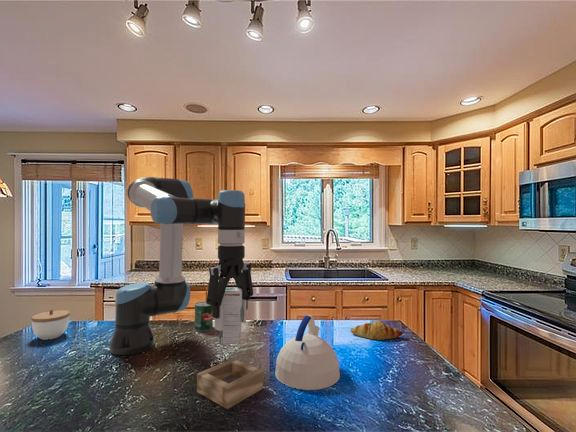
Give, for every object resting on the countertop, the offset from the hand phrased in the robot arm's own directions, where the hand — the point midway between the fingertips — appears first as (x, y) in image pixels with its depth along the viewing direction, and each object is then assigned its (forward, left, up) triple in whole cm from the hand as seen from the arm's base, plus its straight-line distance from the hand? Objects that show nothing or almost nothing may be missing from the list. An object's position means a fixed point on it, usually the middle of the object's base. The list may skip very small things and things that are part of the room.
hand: (230, 325), depth 90 cm
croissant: (+14, +67, -19) cm, 71 cm away
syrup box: (0, 0, -4) cm, 4 cm away
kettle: (+11, +22, -19) cm, 31 cm away
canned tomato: (-49, +27, -18) cm, 59 cm away
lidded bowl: (-89, -19, -18) cm, 93 cm away
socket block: (0, 0, -18) cm, 18 cm away
